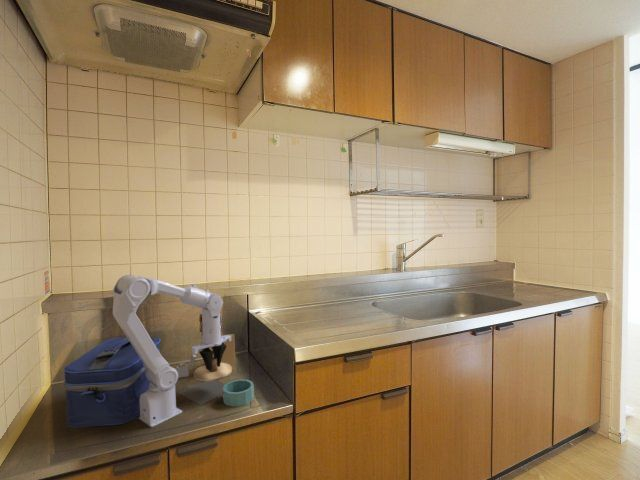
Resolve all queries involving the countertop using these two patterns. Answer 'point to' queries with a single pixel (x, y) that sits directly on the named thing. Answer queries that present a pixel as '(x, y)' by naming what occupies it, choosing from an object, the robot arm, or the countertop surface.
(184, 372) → the lighter
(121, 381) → the lunch bag
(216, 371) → the lid
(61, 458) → the countertop surface
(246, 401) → the bowl
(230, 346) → the sandwich container
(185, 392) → the mat
